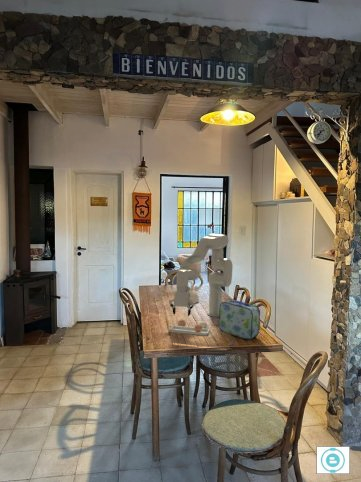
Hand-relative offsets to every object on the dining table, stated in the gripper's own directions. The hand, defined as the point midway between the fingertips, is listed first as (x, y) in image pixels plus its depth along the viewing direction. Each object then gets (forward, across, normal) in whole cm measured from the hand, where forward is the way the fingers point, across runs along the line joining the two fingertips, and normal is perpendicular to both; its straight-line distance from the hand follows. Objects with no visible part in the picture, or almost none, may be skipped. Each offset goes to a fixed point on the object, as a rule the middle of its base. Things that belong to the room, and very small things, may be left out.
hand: (181, 314), depth 217 cm
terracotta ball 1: (+8, 0, -1) cm, 8 cm away
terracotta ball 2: (+8, -13, +8) cm, 17 cm away
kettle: (+7, +12, -68) cm, 69 cm away
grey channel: (+9, -7, +8) cm, 14 cm away
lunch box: (+8, -37, +2) cm, 38 cm away
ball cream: (+8, -14, -1) cm, 17 cm away
